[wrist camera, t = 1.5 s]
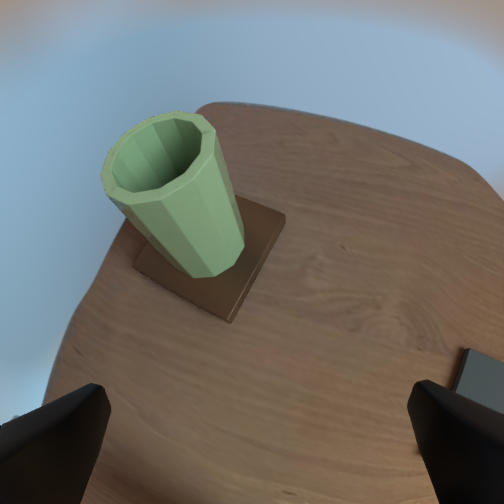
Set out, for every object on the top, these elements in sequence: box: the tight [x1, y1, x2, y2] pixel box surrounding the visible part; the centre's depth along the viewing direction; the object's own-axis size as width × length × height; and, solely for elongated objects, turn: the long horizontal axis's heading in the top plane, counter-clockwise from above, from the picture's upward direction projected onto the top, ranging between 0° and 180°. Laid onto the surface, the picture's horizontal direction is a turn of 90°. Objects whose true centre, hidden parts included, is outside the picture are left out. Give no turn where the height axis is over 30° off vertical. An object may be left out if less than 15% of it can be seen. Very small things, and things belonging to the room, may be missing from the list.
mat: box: [452, 348, 504, 414], centre depth 15 cm, size 10×10×1 cm
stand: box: [132, 195, 285, 324], centre depth 22 cm, size 10×10×6 cm
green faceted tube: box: [101, 111, 245, 278], centre depth 19 cm, size 7×7×11 cm
